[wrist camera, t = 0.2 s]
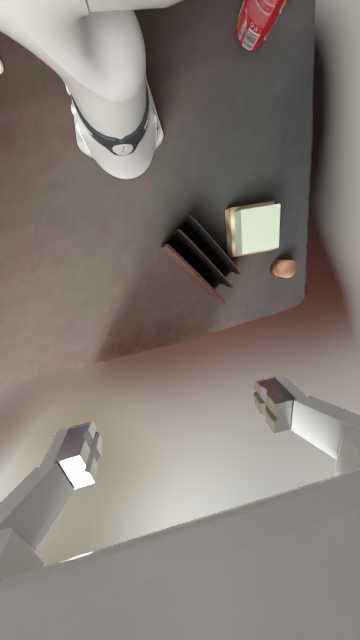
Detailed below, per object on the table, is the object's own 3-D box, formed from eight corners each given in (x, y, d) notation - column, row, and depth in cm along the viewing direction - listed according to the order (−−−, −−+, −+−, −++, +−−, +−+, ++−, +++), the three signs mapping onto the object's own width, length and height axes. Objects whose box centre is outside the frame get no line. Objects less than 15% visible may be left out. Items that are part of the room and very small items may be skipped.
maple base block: (224, 210, 51) (230, 207, 47) (265, 204, 52) (274, 200, 48) (227, 256, 55) (232, 257, 52) (264, 249, 56) (273, 249, 53)
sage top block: (233, 212, 48) (240, 209, 44) (270, 207, 48) (280, 203, 45) (235, 253, 51) (242, 254, 48) (269, 247, 52) (278, 247, 48)
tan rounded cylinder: (270, 260, 57) (281, 261, 53) (285, 257, 58) (297, 258, 53) (269, 277, 59) (280, 279, 55) (284, 274, 60) (295, 276, 55)
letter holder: (208, 294, 58) (225, 307, 45) (160, 247, 51) (164, 246, 38) (231, 270, 56) (256, 276, 43) (185, 218, 50) (198, 207, 36)
